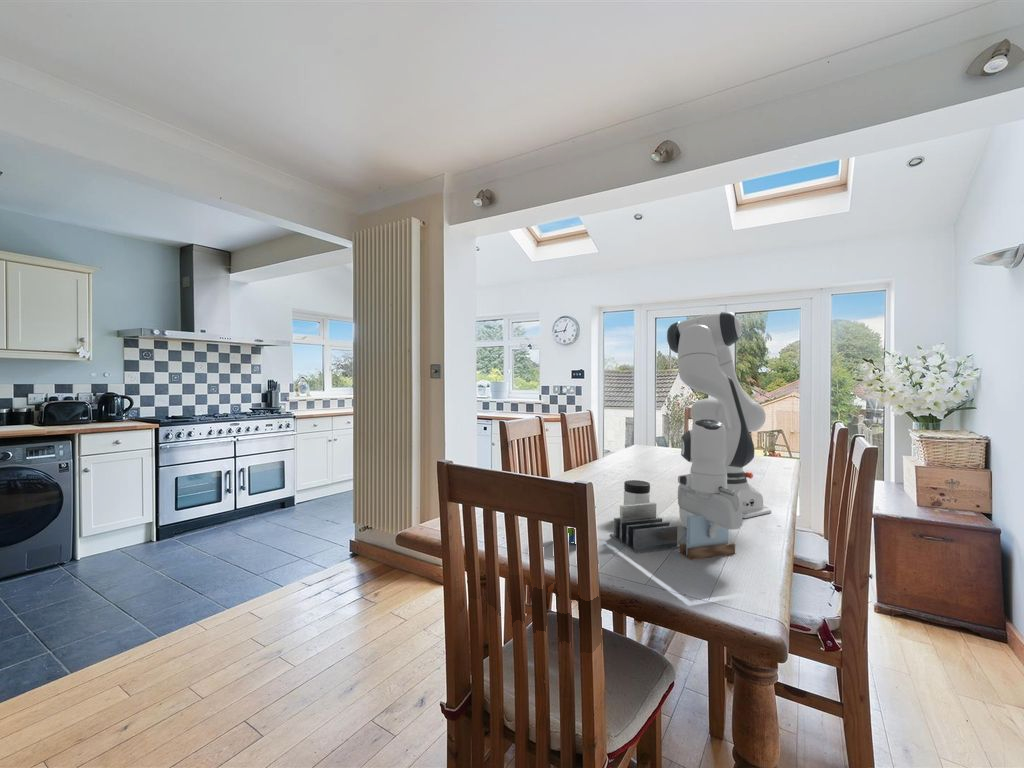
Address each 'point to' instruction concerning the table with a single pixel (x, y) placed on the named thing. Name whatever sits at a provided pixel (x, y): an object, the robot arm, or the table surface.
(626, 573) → the table surface
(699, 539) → the plate
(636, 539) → the dish rack
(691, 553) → the plate stand
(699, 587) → the table surface
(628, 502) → the jar
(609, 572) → the table surface
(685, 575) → the table surface
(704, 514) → the robot arm
